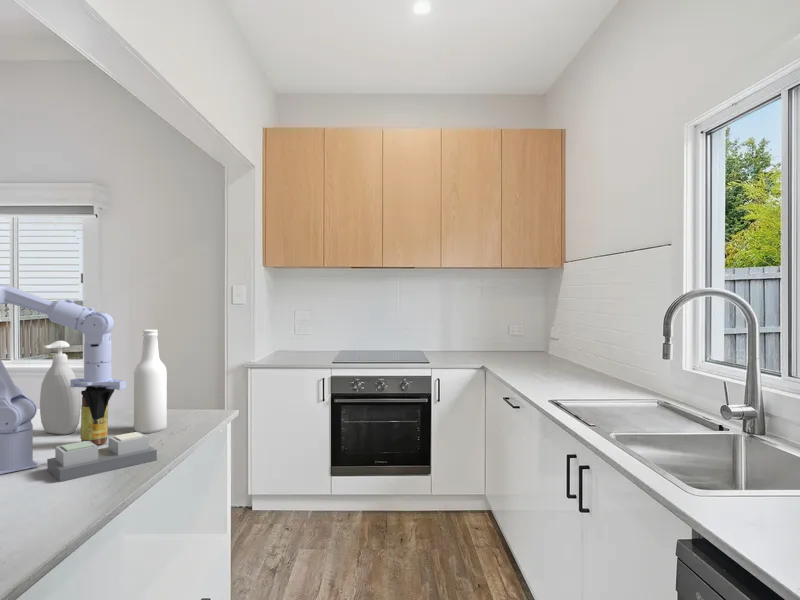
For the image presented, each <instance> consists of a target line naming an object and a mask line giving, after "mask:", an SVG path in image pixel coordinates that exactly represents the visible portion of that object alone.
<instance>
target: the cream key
mask: <svg viewBox="0 0 800 600" xmlns="http://www.w3.org/2000/svg"><path fill="white" fill-rule="evenodd" d="M113 436H114V438H115V439H116V440H118V441H120V442H121V441H126V440H131V439H136V438H142V437H143V435H141V434H139V433H137V432H136V431H134V432H129V433H122V434H117V435H116V434H115V435H113Z"/></svg>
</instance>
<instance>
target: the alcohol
mask: <svg viewBox="0 0 800 600" xmlns="http://www.w3.org/2000/svg"><path fill="white" fill-rule="evenodd" d="M142 332H143V334H142V336H143V339H142V340H143V341H142V351H141V359H140V361H139V363H138V364H137V365H136V366H135V368H134V372H133V430H134V432H140V433H142V434H155V433H161V432H162V431H164V430H165V429H166V428H167V426H168V424H167V423H168V414H167V412H168V409H167V407H168V406H167V405H168V399H167V398H168V395H167V394H168V393H167V390H168V388H167V387H168V385H167V384H168V383H167V381H168V379H167V378H168V377H167V376H168V371H167V366H166V365H165V364H164V362H163V361H162V360H161V358H160V351H159V339H158V335H159V333H158V332H159V330H158V329H154V328H153V329H152V328H151V329H144V330H142Z"/></svg>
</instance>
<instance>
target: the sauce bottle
mask: <svg viewBox="0 0 800 600" xmlns="http://www.w3.org/2000/svg"><path fill="white" fill-rule="evenodd" d="M95 386H102V385H95ZM108 421H109V403H108V404H107V407H106V410H105V414H104V417H103V418H100V419H93V418H92V415H91V412H90V409H89V406H88V404H87V402H86V400H85V398H84V397H83V396H82V398H81V405H80V439H81V441H80V442H83V441H90V442H92V443H94V444H95V445H97V446H101V445H104V444H105V443H106V442H107V440H108V429H109V428H108V427H109V422H108Z"/></svg>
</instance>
